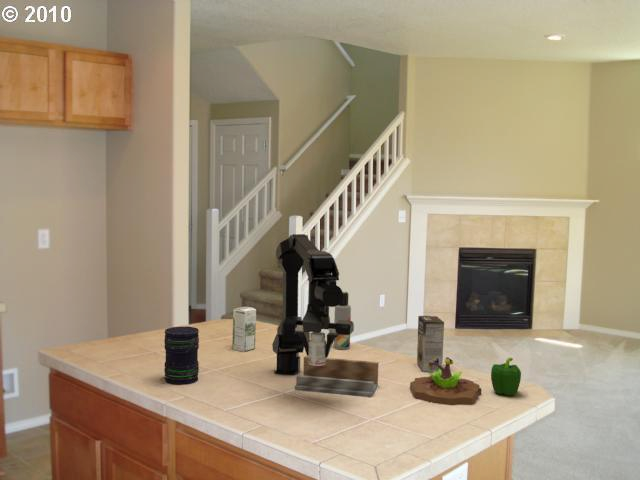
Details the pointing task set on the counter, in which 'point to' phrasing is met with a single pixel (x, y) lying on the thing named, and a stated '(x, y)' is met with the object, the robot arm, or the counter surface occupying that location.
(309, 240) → the robot arm
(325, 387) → the cleat board
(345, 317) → the lotion bottle
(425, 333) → the coffee box
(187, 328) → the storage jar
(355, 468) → the counter surface
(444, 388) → the plant
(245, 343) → the syrup box
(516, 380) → the bell pepper
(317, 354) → the pill bottle
